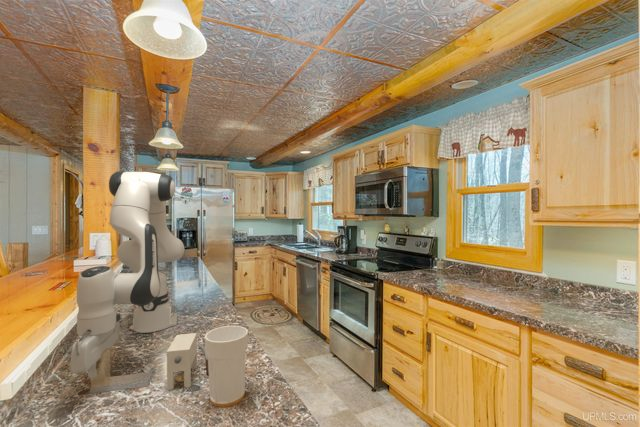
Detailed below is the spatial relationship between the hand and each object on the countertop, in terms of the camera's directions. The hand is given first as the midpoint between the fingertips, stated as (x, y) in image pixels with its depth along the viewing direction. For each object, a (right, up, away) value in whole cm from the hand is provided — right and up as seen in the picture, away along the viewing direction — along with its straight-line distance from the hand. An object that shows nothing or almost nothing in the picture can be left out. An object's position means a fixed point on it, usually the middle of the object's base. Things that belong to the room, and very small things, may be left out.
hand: (97, 371), depth 88 cm
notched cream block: (+22, -4, +5) cm, 23 cm away
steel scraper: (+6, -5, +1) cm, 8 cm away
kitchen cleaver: (+27, -5, +18) cm, 33 cm away
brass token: (+22, -5, +5) cm, 24 cm away
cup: (+39, -5, -5) cm, 40 cm away
